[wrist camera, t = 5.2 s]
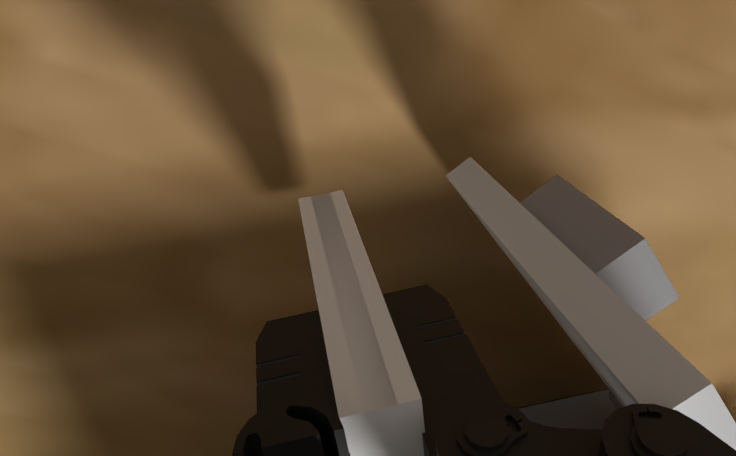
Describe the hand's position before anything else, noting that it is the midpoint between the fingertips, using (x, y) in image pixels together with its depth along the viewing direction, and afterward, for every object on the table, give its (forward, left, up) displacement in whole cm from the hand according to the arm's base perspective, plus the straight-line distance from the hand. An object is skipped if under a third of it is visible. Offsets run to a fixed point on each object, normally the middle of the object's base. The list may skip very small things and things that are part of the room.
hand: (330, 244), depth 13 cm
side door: (+7, -4, -1) cm, 8 cm away
